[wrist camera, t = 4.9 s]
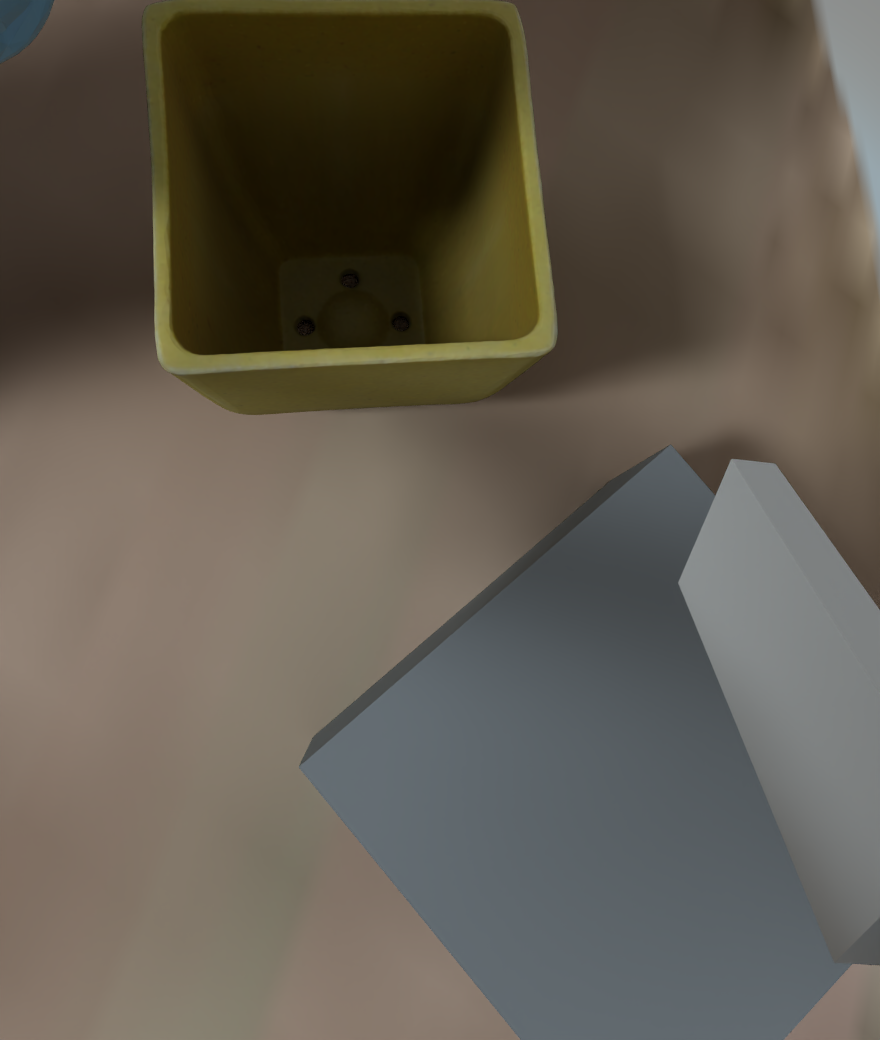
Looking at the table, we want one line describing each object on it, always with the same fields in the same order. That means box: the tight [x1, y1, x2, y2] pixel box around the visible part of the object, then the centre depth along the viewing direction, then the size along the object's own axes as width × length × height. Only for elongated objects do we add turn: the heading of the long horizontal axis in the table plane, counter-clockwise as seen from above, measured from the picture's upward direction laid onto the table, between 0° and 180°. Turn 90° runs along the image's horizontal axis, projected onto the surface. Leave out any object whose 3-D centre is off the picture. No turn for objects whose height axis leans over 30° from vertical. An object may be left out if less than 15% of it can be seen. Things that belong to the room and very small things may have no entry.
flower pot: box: [142, 0, 558, 415], centre depth 21 cm, size 9×9×9 cm
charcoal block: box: [299, 445, 852, 1040], centre depth 21 cm, size 13×13×5 cm
